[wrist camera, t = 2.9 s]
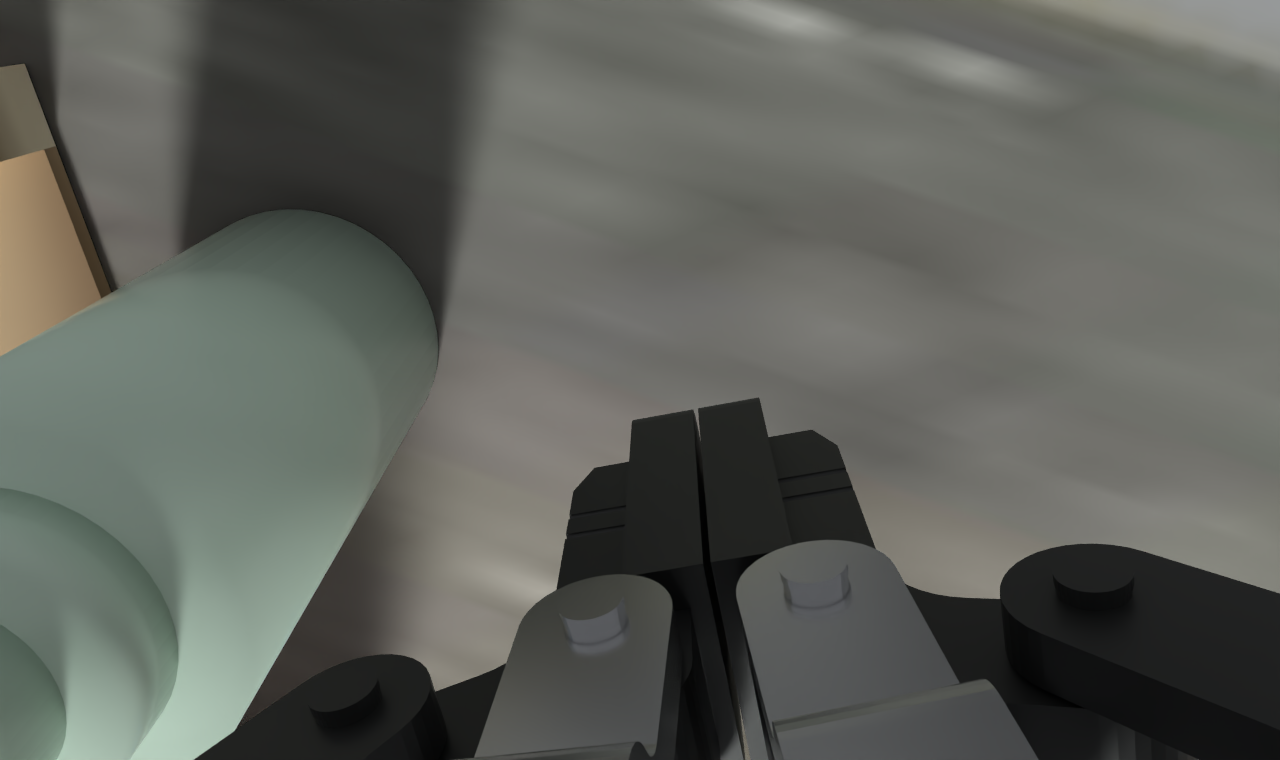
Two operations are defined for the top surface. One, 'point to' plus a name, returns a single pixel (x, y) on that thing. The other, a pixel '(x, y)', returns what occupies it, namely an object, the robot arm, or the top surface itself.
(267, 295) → the bottle
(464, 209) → the top surface
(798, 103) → the top surface
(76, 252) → the cradle
